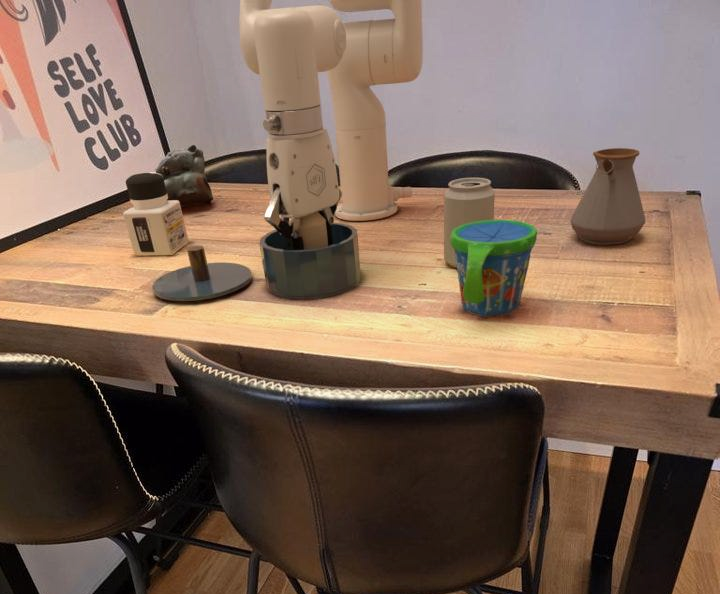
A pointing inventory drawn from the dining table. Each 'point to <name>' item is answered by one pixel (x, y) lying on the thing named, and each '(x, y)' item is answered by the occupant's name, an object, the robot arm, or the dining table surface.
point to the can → (465, 208)
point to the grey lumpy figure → (185, 176)
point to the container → (153, 217)
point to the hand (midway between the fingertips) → (311, 256)
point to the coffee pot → (610, 200)
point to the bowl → (311, 265)
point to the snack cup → (492, 264)
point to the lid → (201, 279)
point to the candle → (313, 231)
